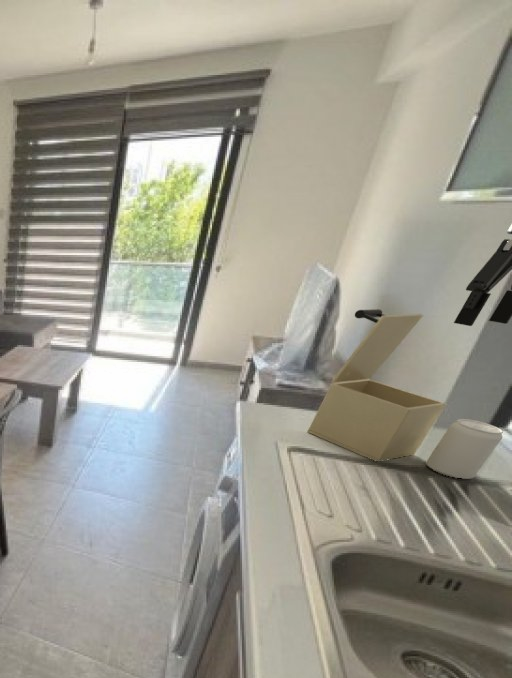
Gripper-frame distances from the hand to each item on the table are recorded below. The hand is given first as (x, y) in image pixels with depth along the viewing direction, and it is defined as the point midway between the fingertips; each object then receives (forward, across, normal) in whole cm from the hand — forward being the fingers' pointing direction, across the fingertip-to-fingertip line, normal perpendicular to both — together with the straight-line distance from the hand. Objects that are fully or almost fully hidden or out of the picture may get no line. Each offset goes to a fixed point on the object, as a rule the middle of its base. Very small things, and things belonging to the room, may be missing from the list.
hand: (480, 323), depth 103 cm
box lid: (+9, +3, -13) cm, 17 cm away
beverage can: (+33, -2, +8) cm, 34 cm away
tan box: (+32, +3, -8) cm, 33 cm away
